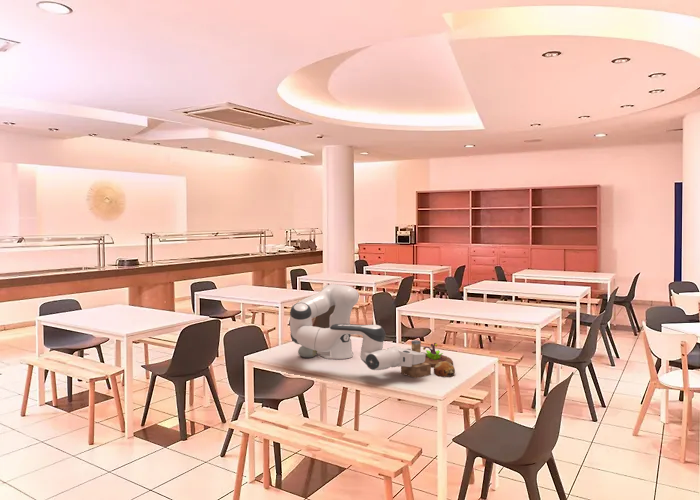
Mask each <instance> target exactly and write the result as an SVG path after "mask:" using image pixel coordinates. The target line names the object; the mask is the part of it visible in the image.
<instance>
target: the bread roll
mask: <svg viewBox="0 0 700 500" xmlns="http://www.w3.org/2000/svg"><path fill="white" fill-rule="evenodd" d="M433 374H434V375H436V376H437V377H440V378H450V377H453V376H454V375H455V374H456V370H455V366H454V364H453V365H452V364H451V363H449V362H446V361H443V362H438V364H436V365H435V367H434V368H433Z"/></svg>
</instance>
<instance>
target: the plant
mask: <svg viewBox="0 0 700 500" xmlns="http://www.w3.org/2000/svg"><path fill="white" fill-rule="evenodd" d="M436 347H438V343H437V342H434V343H431V344H430V347H429V346H424V347H422V351H425V350H426V349H429V350H426V351H425V353H426V356H425V363H428V364H431V369H432V368H433V369H434V367H435V365H436V364H438V362H443V361H446V362H449V363H451V364H452V365H453V366H454V361H453V359H452V358H451V357H449V356H447V355H443V354H444V352H441V351H440V350H439V349H438V350H436Z"/></svg>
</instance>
